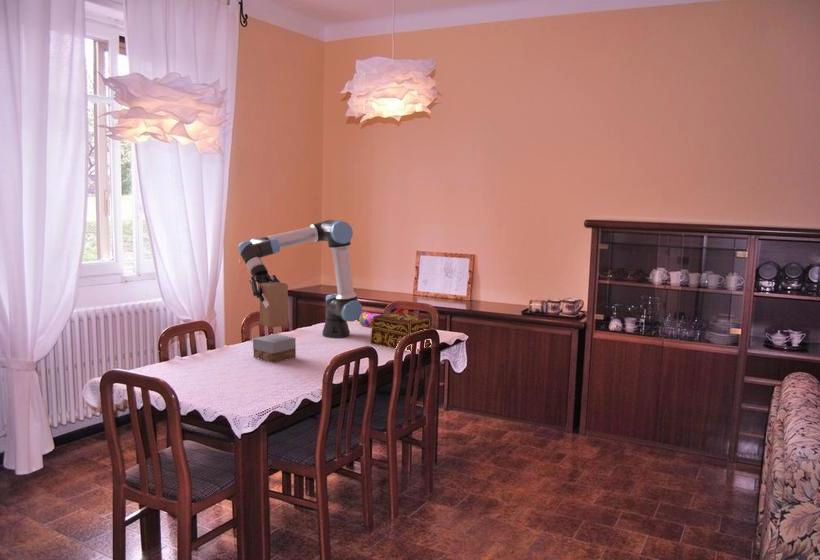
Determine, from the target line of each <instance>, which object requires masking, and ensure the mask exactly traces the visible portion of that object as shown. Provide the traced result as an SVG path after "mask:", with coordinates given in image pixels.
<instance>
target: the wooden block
mask: <svg viewBox="0 0 820 560" xmlns="http://www.w3.org/2000/svg"><path fill="white" fill-rule="evenodd" d="M280 282H281V281H280ZM280 282H268V283H261V284H260V287H261V289H262V294H263V293H264V295H265V297H266V299H267V300H268V302H269V304H270V305H269V306H268V307H267V308H265V306H264V304H263V302H261V300H260V299H259V324H260V325H262V326H264V327H268V328H278V327H284V326H287V325H288V324H289V317H288V316H289V311H288V310H289V308H288V307H289V305H288V304H289V302H288V301H289V295H288V294H289V292H288V291H289V286H288V283H284V282H281V283H280Z"/></svg>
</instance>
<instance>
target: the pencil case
mask: <svg viewBox="0 0 820 560" xmlns="http://www.w3.org/2000/svg"><path fill="white" fill-rule="evenodd" d="M378 315H382V314H380V313H372V312H369V311H364V310H362V314H361V316H360V317H359V318H358V319H357V320H356V321H357V322H359V324H360V326H362V325H365V326H364V327H368V326H369V327H368V328H372V322H373V316H378Z"/></svg>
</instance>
